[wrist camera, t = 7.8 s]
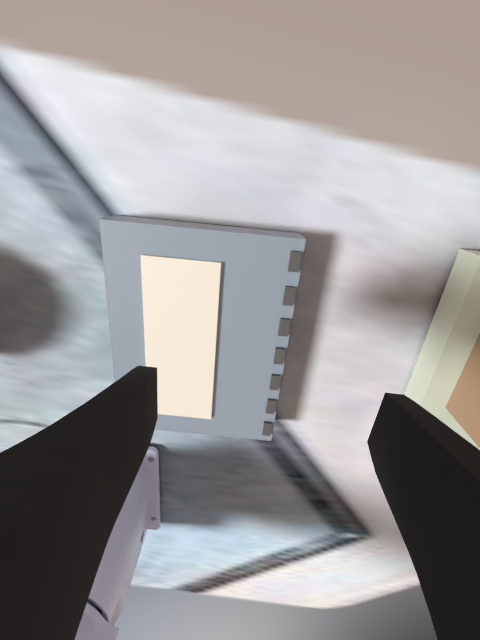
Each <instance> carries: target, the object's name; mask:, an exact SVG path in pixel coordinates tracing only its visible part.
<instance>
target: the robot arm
mask: <svg viewBox="0 0 480 640" xmlns="http://www.w3.org/2000/svg"><path fill="white" fill-rule="evenodd" d="M157 419H158V403H157V368H156V367H147V366H137V367H135V368H134V369H132V370H131V371H129V372H128V373H127V374H125V375H124V376H123V377H121V378H120V379H119V380H117V381H116V382H114V383H113V384H112V385H110V386H109V387H108V388H106V389H105V390H103V391H102V392H101V393H99V394H98V395H96V396H95V397H93V398H92V399H91V400H89V401H88V402H86V403H85V404H83V405H82V406H80V407H78V408H77V409H75V410H74V411H72V412H71V413H69V414H68V415H66V416H64V417H63V418H61V419H60V420H58V421H57V422H55V423H54V424H52V425H50V426H48V427H47V428H45V429H43V430H42V431H40V432H38V433H36V434H35V435H33V436H31V437H29V438H27V439H26V440H24V441H22V442H20V443H18V444H16V445H14V446H13V447H11V448H9V449H7V450H5V451H3V452H1V453H0V640H116V637H117V633H118V630H119V629H118V627H116V626H114V624H115V622H116V621H117V619H118V617H119V615H120V613H121V611H122V609H123V606H124V603H125V600H126V597H127V593H128V590H129V587H130V584H131V580H132V577H133V574H134V571H135V567H136V564H137V561H138V558H139V554H140V551H141V548H142V545H143V541H144V538H145V535H146V532H147V529H153V530H156V529H158V528H159V527H160V523H161V519H160V486H159V452H158V450H157V448H155V447H152V446H149V445H150V442H151V439H152V436H153V432H154V429H155V426H156V422H157ZM367 442H368V446H369V450H370V454H371V458H372V461H373V465H374V468H375V472H376V475H377V477H378V480H379V482H380V485H381V487H382V489H383V492H384V494H385V497H386V499H387V502H388V504H389V506H390V509H391V511H392V513H393V516H394V518H395V521H396V523H397V525H398V528H399V530H400V532H401V535H402V537H403V540H404V542H405V544H406V547H407V549H408V551H409V554H410V557H411V559H412V562H413V564H414V567H415V570H416V572H417V575H418V578H419V581H420V585H421V588H422V591H423V594H424V597H425V600H426V603H427V606H428V609H429V612H430V616H431V619H432V622H433V625H434V629H435V632H436V635H437V639H438V640H480V450H479V449H478V448H476V447H475V446H474V445H472V444H471V443H470V442H468V441H467V440H466V439H464V438H463V437H462V436H460V435H459V434H458V433H456V432H455V431H454V430H452V429H451V428H450V427H448V426H447V425H446V424H444V423H443V422H442V421H440V420H439V419H438V418H436V417H435V416H434V415H432V414H431V413H430V412H428V411H427V410H426V409H424V408H423V407H422V406H420V405H419V404H417V403H416V402H415V401H413V400H412V399H410V398H409V397H407V396H405V395H400V394H391V393H385V395H384V398H383V400H382V403H381V406H380V409H379V411H378V414H377V417H376V419H375V422H374V425H373V428H372V430H371V433H370V436H369V438H368V441H367Z"/></svg>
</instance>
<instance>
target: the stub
mask: <svg viewBox="0 0 480 640" xmlns="http://www.w3.org/2000/svg"><path fill="white" fill-rule="evenodd" d="M404 395H405V396H407V397H409V398H410V399H412V400H413V401H415V402H416V403H417V404H419V405H420V406H422V407H423V408H424V409H426V410H427V411H428V412H430V413H431V414H432V415H434V416H435V417H436V418H438V419H439V420H440V421H442V422H443V423H444V424H446V425H447V426H448V427H450V428H451V429H452V430H454V431H455V432H456V433H458V434H459V435H460V436H462V437H463V438H464V439H466V440H467V441H468V442H470V443H471V444H472V445H474V446H475V447H476V448H478V449H479V450H480V251H475V250H465V249H459V252H458V254H457V257H456V260H455V262H454V265H453V267H452V270H451V273H450V275H449V278H448V281H447V283H446V286H445V288H444V291H443V294H442V296H441V299H440V301H439V304H438V307H437V309H436V312H435V315H434V317H433V320H432V322H431V325H430V328H429V330H428V333H427V336H426V338H425V341H424V343H423V346H422V349H421V351H420V354H419V356H418V359H417V362H416V364H415V367H414V370H413V372H412V375H411V377H410V380H409V383H408V385H407V388H406V390H405V393H404Z"/></svg>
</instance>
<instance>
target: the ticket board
mask: <svg viewBox="0 0 480 640" xmlns="http://www.w3.org/2000/svg"><path fill="white" fill-rule="evenodd" d="M99 223H100V233H101V244H102V254H103V264H104V274H105V285H106V295H107V305H108V315H109V326H110V336H111V346H112V357H113V367H114V377H115V382H116V381H117V380H119V379H120V378H121V377H123V376H124V375H125V374H127V373H128V372H129V371H131V370H132V369H134V368H135V367H137V366H147V367H156V368H157V403H158V419H157V422H156V426H155V429H156V430H166V431H176V432H186V433H196V434H207V435H217V436H227V437H237V438H247V439H257V440H267V441H271V439H272V433H273V427H274V422H275V416H276V410H277V404H278V399H279V393H280V387H281V381H282V376H283V370H284V364H285V358H286V353H287V347H288V341H289V336H290V330H291V324H292V318H293V313H294V307H295V301H296V295H297V290H298V284H299V278H300V272H301V267H302V261H303V255H304V249H305V244H306V239H305V237H304V236H303V235H302V234H301V233H296V232H285V231H275V230H265V229H254V228H244V227H234V226H224V225H213V224H203V223H193V222H182V221H172V220H162V219H152V218H141V217H131V216H121V215H114V216H110V217H106V218H102V219H99Z"/></svg>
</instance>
